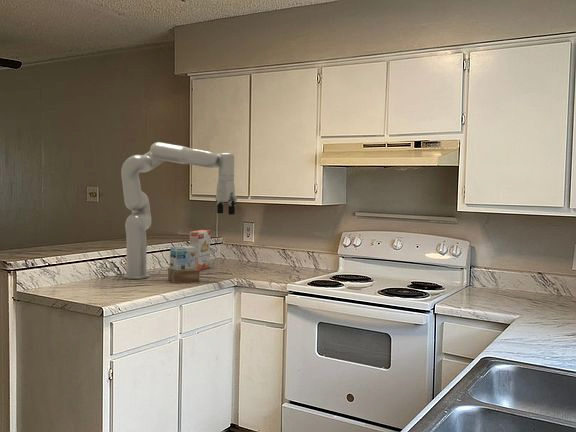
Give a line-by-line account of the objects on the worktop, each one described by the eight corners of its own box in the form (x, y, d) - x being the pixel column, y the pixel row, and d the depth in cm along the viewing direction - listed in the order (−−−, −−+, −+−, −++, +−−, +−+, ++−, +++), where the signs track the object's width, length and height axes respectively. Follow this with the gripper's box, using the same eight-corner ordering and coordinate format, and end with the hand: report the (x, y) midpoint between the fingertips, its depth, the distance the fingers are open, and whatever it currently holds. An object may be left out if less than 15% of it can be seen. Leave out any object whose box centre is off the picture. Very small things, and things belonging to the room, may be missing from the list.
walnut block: (168, 280, 291) (168, 268, 290) (192, 278, 296) (192, 266, 295) (174, 284, 280) (174, 271, 279) (199, 282, 285) (199, 270, 285)
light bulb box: (176, 270, 282) (176, 248, 281) (169, 269, 287) (169, 246, 286) (196, 269, 288) (196, 246, 288) (189, 267, 294) (189, 245, 293)
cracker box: (198, 271, 317) (199, 232, 316) (188, 270, 319) (188, 231, 318) (210, 267, 331) (210, 230, 329) (200, 267, 333) (201, 229, 331)
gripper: (209, 178, 294) (209, 213, 295) (230, 178, 280) (229, 215, 281) (222, 178, 298) (222, 212, 299) (243, 178, 285) (242, 214, 286)
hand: (225, 213), depth 290 cm, fingers open, 9 cm apart
